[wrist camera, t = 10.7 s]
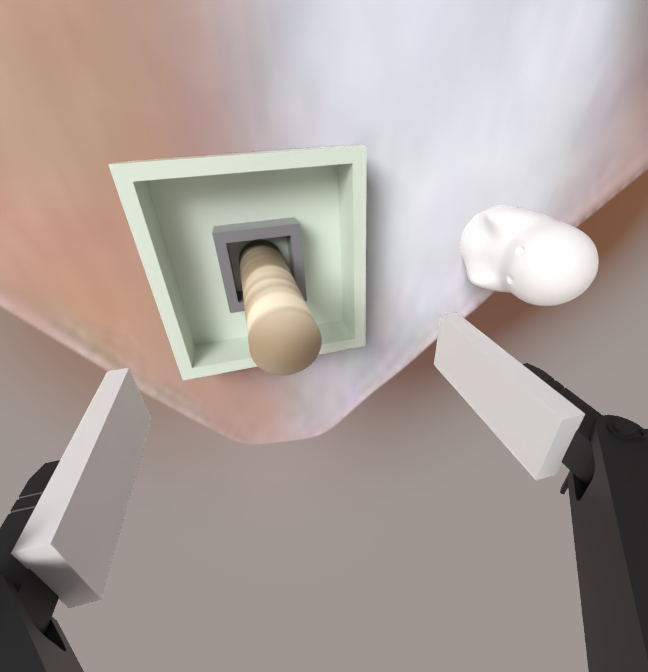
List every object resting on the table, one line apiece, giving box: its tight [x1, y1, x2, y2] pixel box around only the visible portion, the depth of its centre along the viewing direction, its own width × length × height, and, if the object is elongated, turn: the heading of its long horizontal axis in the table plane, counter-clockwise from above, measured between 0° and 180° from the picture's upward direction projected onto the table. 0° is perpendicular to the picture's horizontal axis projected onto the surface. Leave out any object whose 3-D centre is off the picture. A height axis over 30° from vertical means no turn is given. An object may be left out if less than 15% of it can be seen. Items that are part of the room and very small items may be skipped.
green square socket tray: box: [108, 145, 367, 380], centre depth 27 cm, size 16×16×4 cm
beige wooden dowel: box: [239, 239, 322, 375], centre depth 22 cm, size 4×4×14 cm
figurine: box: [460, 205, 599, 306], centre depth 28 cm, size 7×8×12 cm
